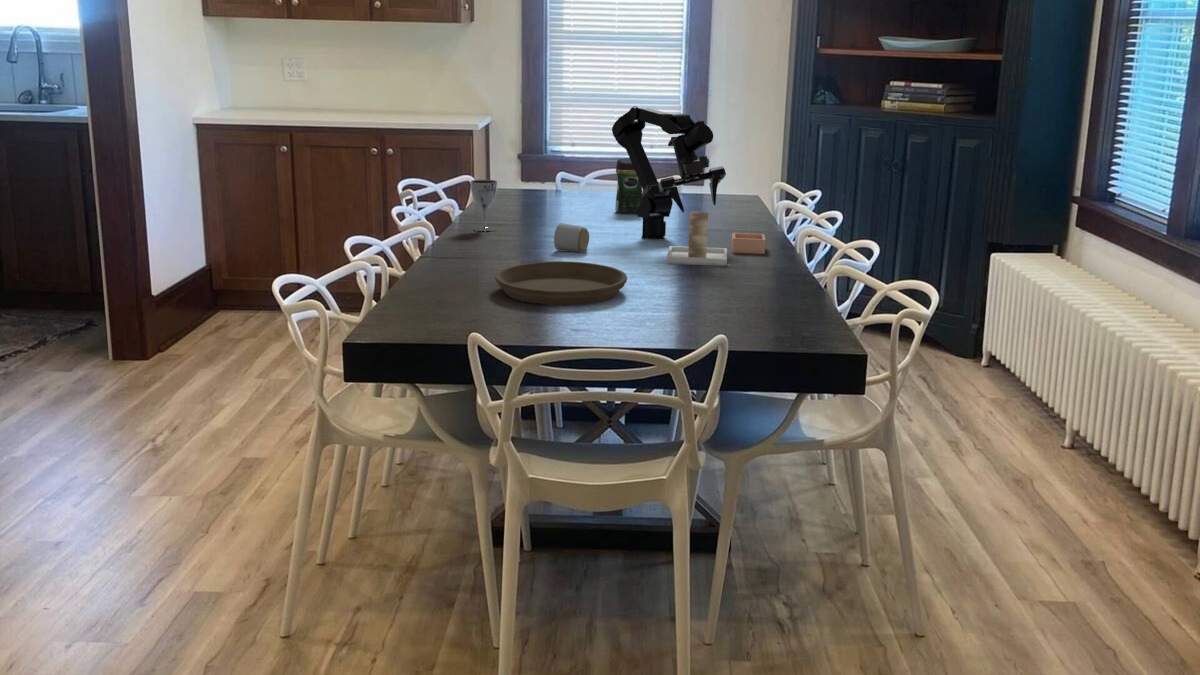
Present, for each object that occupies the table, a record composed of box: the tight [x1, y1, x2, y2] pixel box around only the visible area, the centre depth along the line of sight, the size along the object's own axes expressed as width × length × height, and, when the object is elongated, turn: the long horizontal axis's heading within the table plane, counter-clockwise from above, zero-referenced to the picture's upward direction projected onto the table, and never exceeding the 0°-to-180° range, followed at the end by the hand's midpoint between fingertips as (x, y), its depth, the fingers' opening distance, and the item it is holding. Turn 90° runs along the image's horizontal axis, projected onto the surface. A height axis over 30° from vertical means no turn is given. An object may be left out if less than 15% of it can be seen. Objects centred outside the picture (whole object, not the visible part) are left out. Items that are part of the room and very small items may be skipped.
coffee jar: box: [615, 157, 643, 215], centre depth 376 cm, size 10×8×19 cm
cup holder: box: [731, 232, 766, 255], centre depth 313 cm, size 9×9×4 cm
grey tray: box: [666, 245, 728, 267], centre depth 302 cm, size 16×16×2 cm
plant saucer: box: [494, 260, 628, 306], centre depth 260 cm, size 31×31×5 cm
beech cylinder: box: [687, 211, 709, 258], centre depth 300 cm, size 5×5×12 cm
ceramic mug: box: [553, 222, 590, 253], centre depth 310 cm, size 11×8×8 cm
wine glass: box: [470, 179, 498, 229], centre depth 338 cm, size 8×8×15 cm
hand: (699, 208), depth 314 cm, fingers open, 9 cm apart
